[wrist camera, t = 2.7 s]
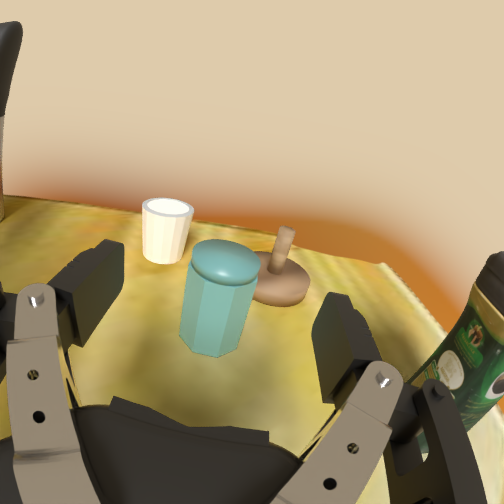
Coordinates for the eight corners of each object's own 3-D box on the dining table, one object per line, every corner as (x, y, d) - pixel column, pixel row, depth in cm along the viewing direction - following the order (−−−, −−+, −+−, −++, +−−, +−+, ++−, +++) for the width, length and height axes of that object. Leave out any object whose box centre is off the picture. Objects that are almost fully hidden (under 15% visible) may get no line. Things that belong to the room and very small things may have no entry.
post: (218, 270, 38) (231, 215, 34) (269, 258, 44) (283, 211, 41) (271, 316, 32) (293, 256, 28) (318, 293, 39) (340, 243, 35)
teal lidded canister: (170, 324, 27) (179, 244, 23) (214, 309, 30) (231, 236, 26) (202, 364, 23) (220, 282, 19) (248, 342, 27) (274, 266, 23)
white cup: (194, 251, 41) (202, 205, 38) (173, 272, 35) (180, 221, 31) (153, 237, 41) (159, 193, 38) (128, 255, 35) (131, 206, 32)
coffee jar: (437, 394, 24) (530, 258, 16) (458, 447, 17) (579, 304, 9) (374, 396, 24) (481, 229, 15) (392, 463, 16) (551, 286, 8)
